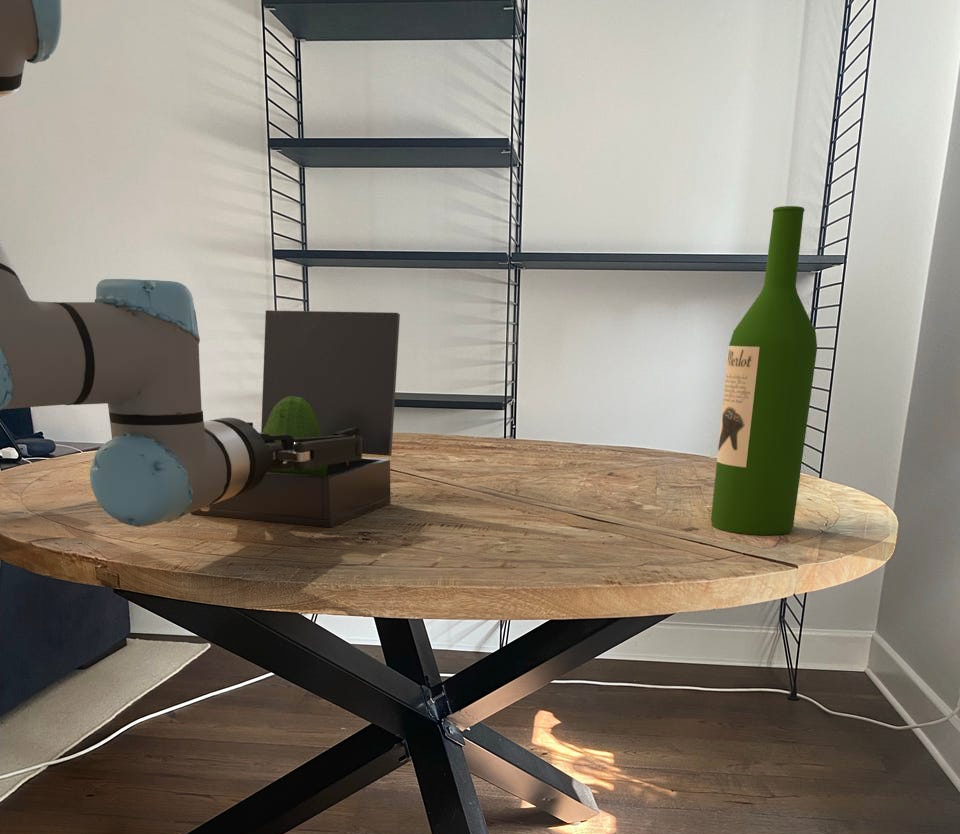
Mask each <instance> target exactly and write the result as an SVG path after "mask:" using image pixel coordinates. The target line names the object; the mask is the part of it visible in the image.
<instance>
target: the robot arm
mask: <svg viewBox="0 0 960 834" xmlns="http://www.w3.org/2000/svg"><path fill="white" fill-rule="evenodd" d="M61 29H62V0H0V100H2V99H3V98H6V97H9V96H11V95H13V94H15V93H18V91H20V89H21V86H22V81H23V73H24V69H25V63H26V62H27V63H29V64H38V63H42V62H46V61H47V60H48V59H50V57H51V55H53V54H54V53H55V51H56V49H57V47H58V44H59V40H60V35H61ZM13 265H14V264H12V262H11V259H10V257H9V255H8V253H7V251H6V249H5V247H4V245H3V243H2V240H0V411H2V410H9V409H10V410H11V409H22V408H23V409H24V408H25V409H26V408H38V407H53V406H80V405H81V406H82V405H105V404H107V409H108V416H109V425H110V435H111V439H110V440H108V441H106V442H104V443H103V444H102V445H101V446H100V447H99V448H98V449H97V451H96V452H95V455H94V457H93V460H92V463H91V466H90V469H89V482H90V487H91V489H92V490H91V491H92V492H93V495H94V497H95V499H96V501H97V502H98V504H99V505H100V507H101V508H102V510H104V511H105V512H106V514H108V515H109V516H110V517H111V518H113V519H114V520H117V521H118V522H120V523H122V524H124V525H126V526H127V525H128V526H132V527H137V528H142V527H149V526H153V525H158V524H162V523H172V522H174V521H177V520H180V519H181V518H182V517H184V516H186V515H189V514H190V513H191V512H193V511H196V510H198V509H201V510H202V511H208V510H210V505H212V504H214V503H217V502H220V501H223V500H225V499H228V498H232V497H235V496H238V495H241V494H243V493H246V492H249V491H251V490H252V489H254V488H255V487H257V486H258V485H259V484H260V482H261V481H262V480H263V478H264V476H265V474H266V472H270V471H271V470H273V469H284V468H292V467H293V466H294V469H296V470H303V469H307V468H310V467H314V466H321V465H329V464H336V463H340V464H341V465H345V466H347V465H348V462H351V461H359V460H362V458H363V454H362V437H361V436H359V428H356V427H353V428H349V429H346V430H342V431H339V432H335V433H333V436H318V437H301V438H293V437H292V436H291V435H287V434H269V435H268V434H265V433H261V432H258V431H257V429H255V427H254V423H253V422H250V421H249V422H248V421H245V420H243V419H240V418H236V417H219V418H215V419H210V420H204V410H202V409H203V408H202V407H203V406H202V390H201V366H200V341H201V339H200V334H199V326H198V320H197V312H196V308H195V301H194V297H193V294H192V292H191V290H190V289H189V288H188V287H187V286H186V285H184V284H183V283H182V282H178V281H172V280H159V279H136V278H105V279H101V280H100V281H99V282H98V283H97V285H96V289H95V299H94V301H83V302H82V301H76V302H75V301H73V302H72V301H69V302H67V301H65V302H64V301H63V302H62V301H60V302H58V301H57V302H56V301H39V300H33V299H31V298H30V297H29V295H28V293H27V291H26V289H25V287H24V285H23V284H22V282H21V280H20V278H19V275H18V274H17V271H16V269H15V267H14V266H13ZM277 440H281V445H280V444H278V443H277V442H275V441H277Z"/></svg>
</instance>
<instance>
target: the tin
mask: <svg viewBox="0 0 960 834" xmlns="http://www.w3.org/2000/svg"><path fill="white" fill-rule="evenodd" d="M391 498H392V497H391V459H386V458H373V457H372V458H371V457H362V460H359V461H351V462H348V465H347V466H345V465H341V464H340V463H336V464H329V465H328V468H327V473H326V477H325V476H315V475H302V474H289V473H276V472H266V474H265V476H264V478H263V480H262V481H261V482H260V484H259V485H258V486H257V487H255V488H254V489H252V490H251V491H249V492H246V493H243V494H241V495H238V496H235V497H232V498H228V499H225V500H223V501H220V502H217V503H214V504H212V505H210V510H208V511H202V510H201V509H198V510H196V511H193V512H191V513H189V514H190V515H196V516H197V515H198V516H206V517H207V516H208V517H218V518H227V519H237V520H248V521H249V520H250V521H258V522H259V521H260V522H269V523H279V524H288V525H289V524H290V525H300V526H309V527H310V526H311V527H319V528H320V527H321V528H328V529H329V528H333V527H336V526H338V525H340V524H343V523H346V522H348V521H351V520H353V519H355V518H358V517H360V516H363V515H365V514H368V513H371V512H373V511H375V510H377V509H380V508H382V507H385V506H387V505H390V504H391V503H392V501H391V500H392V499H391Z"/></svg>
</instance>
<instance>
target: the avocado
mask: <svg viewBox="0 0 960 834" xmlns="http://www.w3.org/2000/svg"><path fill="white" fill-rule="evenodd" d="M263 433H265V434H268V435H269V434H287V435H291V436H292V437H293V438H301V437H318V436H322V434H321V431H320V428H319V425H318V422H317V419H316V417H315V414H314V412H313V409H312V407H311V406H310V405H309V404H308V403H307V402H306V401H305V400H304V399H303V398H300V397H295V396H289V397H286V398H283V399H282V400H281V401H280V402H279V403H277V405H276V406H275V407H274V408H273V410H272V412H271V414H270V416H269V418H268V421H267V423H266V425H265V427H264V430H263ZM275 442H277V443H278V444H280V445H281V440H277V441H275ZM327 468H328V465H321V466H314V467H310V468H307V469H303V470H296V469H294V466H293V467H292V468H284V469H273V470H271V471H270V472H276V473H289V474H302V475H315V476H325V477H326V473H327Z"/></svg>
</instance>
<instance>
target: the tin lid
mask: <svg viewBox="0 0 960 834" xmlns="http://www.w3.org/2000/svg"><path fill="white" fill-rule="evenodd" d="M400 318H401V314H400V313H399V312H387V311H386V312H383V311H382V312H380V311H332V310H331V311H328V310H327V311H325V310H324V311H323V310H321V311H320V310H316V311H315V310H265V320H264V321H265V322H264V346H263V375H262V399H261V401H262V402H261V426H260V427H261V429H260V433H263V430H264V427H265V425H266V423H267V421H268V418H269V416H270V414H271V412H272V410H273V408H274V407H275V406H276V405H277V403H279V402H280V401H281V400H282V399H283V398H286V397H289V396H295V397H300V398H303V399H304V400H305V401H306V402H307V403H308V404H309V405H310V406H311V407H312V409H313V412H314V414H315V417H316V419H317V422H318V425H319V428H320V431H321V434H322V436H333V433H335V432H339V431H342V430H346V429H349V428H353V427H356V428H359V436H361V437H362V455H371V456H372V455H373V456H386V457H388V456H389V457H392V454H393V439H394V438H393V437H394V436H393V435H394V421H395V419H394V418H395V405H396V403H395V402H396V387H397V370H398V369H397V368H398V351H399V337H400V321H401V320H400Z"/></svg>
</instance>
